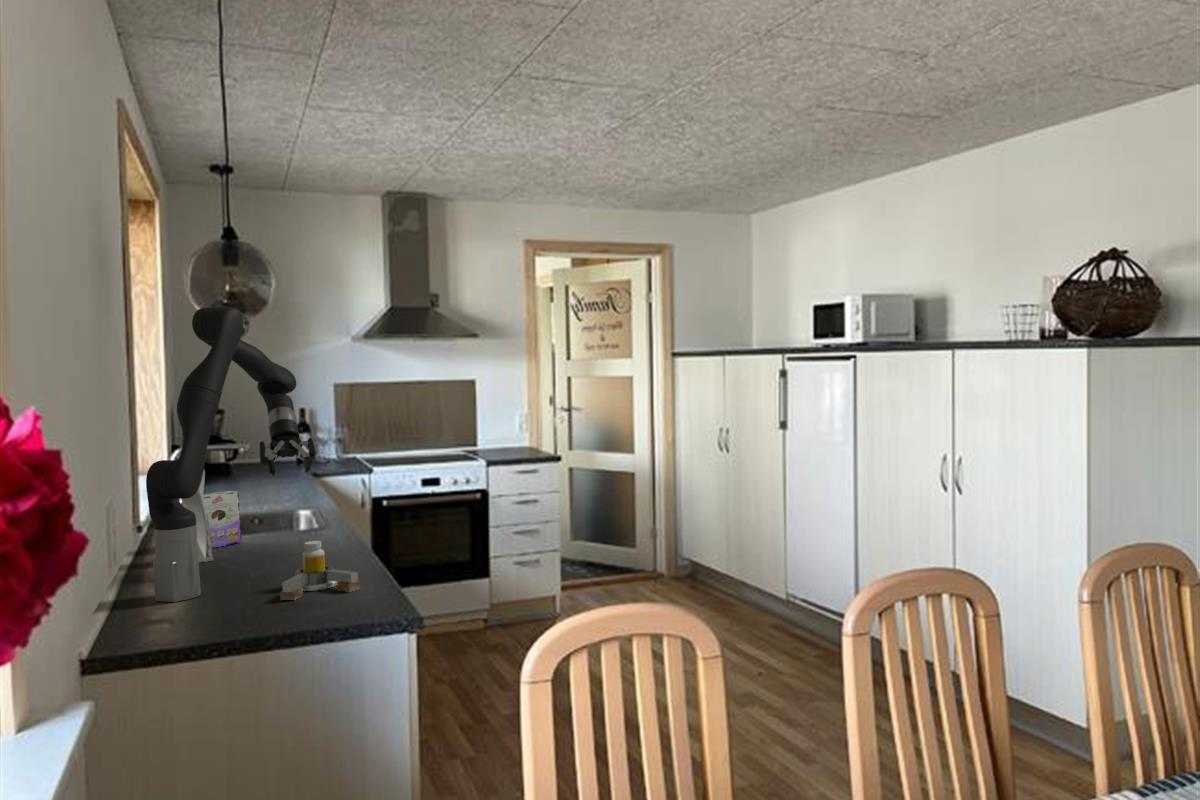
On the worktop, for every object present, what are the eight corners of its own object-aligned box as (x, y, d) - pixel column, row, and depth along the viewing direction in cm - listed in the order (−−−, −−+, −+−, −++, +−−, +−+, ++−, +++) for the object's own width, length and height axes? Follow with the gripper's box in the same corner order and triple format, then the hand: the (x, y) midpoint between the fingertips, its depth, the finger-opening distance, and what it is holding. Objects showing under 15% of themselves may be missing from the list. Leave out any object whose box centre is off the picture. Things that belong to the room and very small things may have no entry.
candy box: (232, 541, 279) (229, 489, 278) (242, 543, 275) (239, 491, 274) (189, 549, 268) (186, 496, 267) (198, 552, 264) (195, 497, 263)
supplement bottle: (299, 581, 219) (297, 543, 219) (319, 576, 223) (317, 539, 222) (310, 584, 215) (308, 545, 215) (330, 579, 219) (328, 541, 219)
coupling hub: (320, 593, 211) (319, 576, 211) (279, 590, 215) (278, 574, 215) (349, 580, 223) (349, 564, 223) (310, 578, 227) (309, 562, 226)
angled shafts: (326, 594, 202) (326, 585, 202) (277, 591, 206) (277, 582, 206) (361, 579, 215) (360, 570, 215) (314, 576, 219) (314, 568, 219)
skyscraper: (213, 562, 249) (207, 464, 248) (182, 566, 246) (175, 466, 244) (212, 556, 257) (207, 461, 255) (182, 560, 253) (176, 463, 252)
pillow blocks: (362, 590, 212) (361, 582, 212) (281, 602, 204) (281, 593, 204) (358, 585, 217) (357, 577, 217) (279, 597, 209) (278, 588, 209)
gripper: (256, 419, 239) (262, 465, 230) (310, 416, 245) (319, 460, 236) (255, 437, 244) (261, 483, 235) (309, 434, 250) (317, 478, 241)
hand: (290, 472), depth 235 cm, fingers open, 8 cm apart
